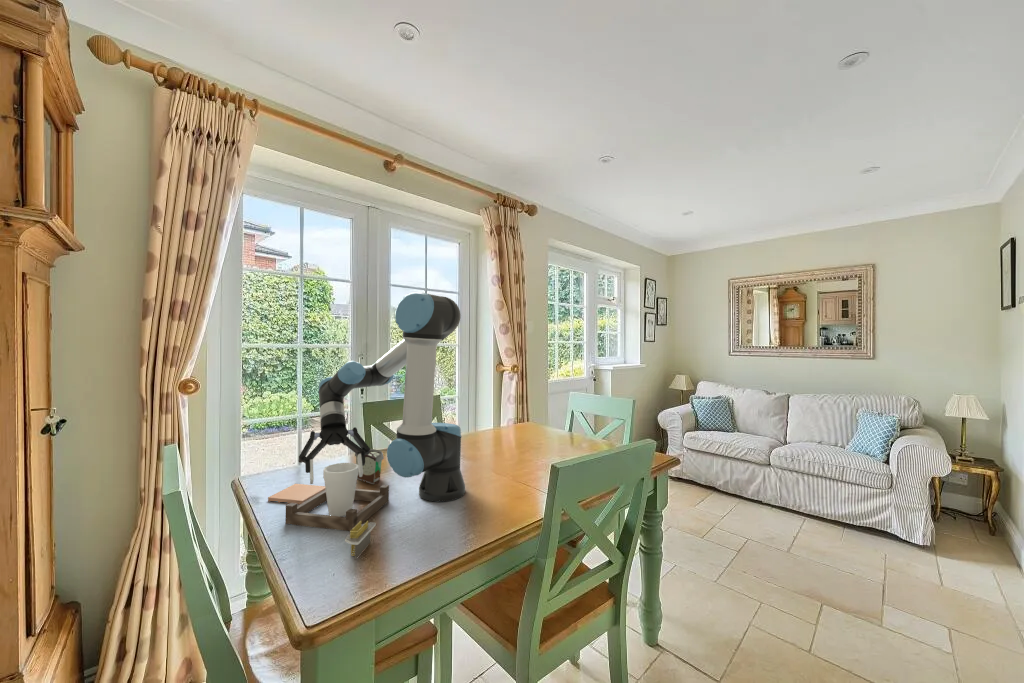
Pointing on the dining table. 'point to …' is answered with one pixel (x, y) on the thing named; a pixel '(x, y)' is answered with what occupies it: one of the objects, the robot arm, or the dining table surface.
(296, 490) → the terracotta tile
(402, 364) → the robot arm
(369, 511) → the frame
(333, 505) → the foam cup
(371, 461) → the cake slice
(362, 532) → the grey yellow plug connector
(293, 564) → the dining table surface
